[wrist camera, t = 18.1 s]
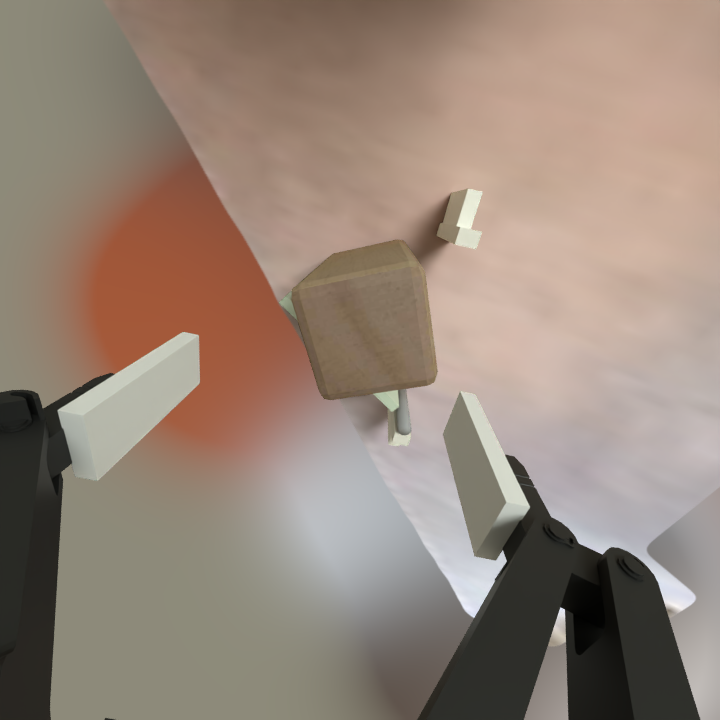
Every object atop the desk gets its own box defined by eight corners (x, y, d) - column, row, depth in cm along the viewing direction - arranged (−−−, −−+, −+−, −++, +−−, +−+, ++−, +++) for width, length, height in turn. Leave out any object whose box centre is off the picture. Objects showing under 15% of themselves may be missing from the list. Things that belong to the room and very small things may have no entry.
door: (396, 376, 47) (399, 406, 40) (382, 387, 48) (382, 418, 41) (302, 281, 42) (285, 295, 35) (288, 295, 43) (269, 312, 36)
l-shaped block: (448, 192, 37) (473, 185, 27) (465, 196, 37) (496, 190, 27) (385, 410, 50) (386, 459, 40) (398, 412, 50) (401, 462, 40)
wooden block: (345, 327, 45) (319, 406, 27) (327, 254, 41) (283, 289, 23) (416, 314, 43) (441, 388, 25) (405, 237, 39) (424, 259, 21)
